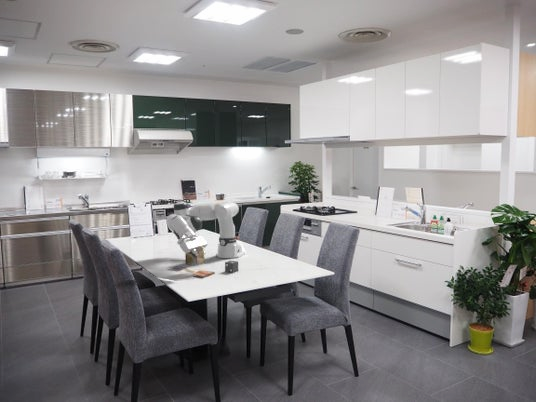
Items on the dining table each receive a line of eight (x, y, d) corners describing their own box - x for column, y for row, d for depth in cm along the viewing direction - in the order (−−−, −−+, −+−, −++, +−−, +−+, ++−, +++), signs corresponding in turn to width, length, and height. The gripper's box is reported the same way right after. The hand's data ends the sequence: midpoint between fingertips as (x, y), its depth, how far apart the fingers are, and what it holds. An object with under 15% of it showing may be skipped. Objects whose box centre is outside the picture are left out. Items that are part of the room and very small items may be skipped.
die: (230, 269, 290) (230, 260, 289) (238, 270, 287) (238, 261, 287) (225, 271, 285) (224, 262, 284) (233, 273, 282) (233, 263, 281)
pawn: (200, 262, 280) (199, 245, 278) (205, 262, 277) (205, 245, 276) (195, 263, 276) (195, 246, 275) (201, 264, 274) (201, 247, 272)
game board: (176, 267, 295) (176, 265, 294) (214, 273, 280) (214, 271, 280) (164, 271, 284) (164, 270, 284) (202, 278, 270) (202, 276, 270)
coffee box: (202, 265, 302) (201, 241, 301) (195, 267, 297) (195, 242, 295) (191, 263, 307) (191, 239, 305) (185, 265, 301) (184, 241, 300)
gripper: (196, 237, 290) (208, 254, 286) (175, 243, 272) (188, 261, 268) (201, 231, 287) (214, 248, 283) (180, 236, 269) (194, 254, 266)
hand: (201, 254), depth 276 cm, fingers closed on pawn, 4 cm apart
